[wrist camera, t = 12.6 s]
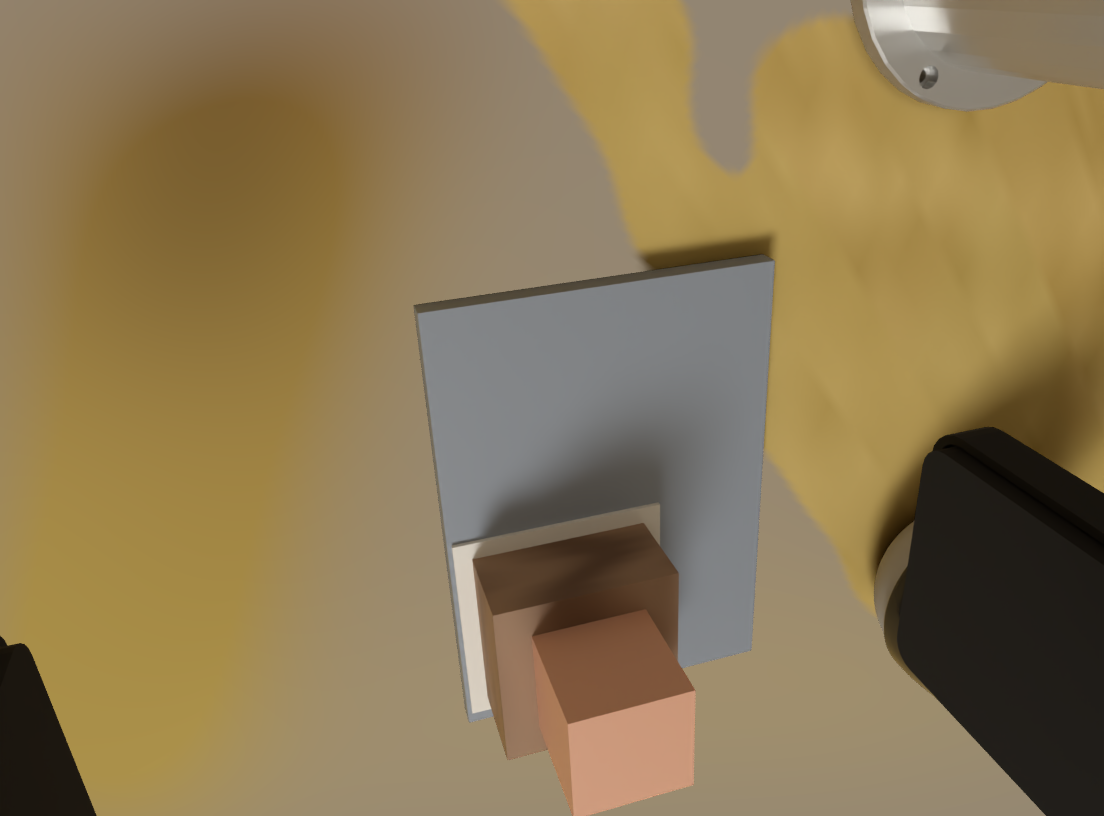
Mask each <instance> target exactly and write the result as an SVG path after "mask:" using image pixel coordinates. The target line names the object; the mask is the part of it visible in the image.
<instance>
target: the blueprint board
mask: <svg viewBox="0 0 1104 816" xmlns="http://www.w3.org/2000/svg"><path fill="white" fill-rule="evenodd" d="M774 264H775V261H774V260H772V259H771V258H769V257H767V256H765V255H764V254H762V255H755V256H748V257H741V258H734V259H727V260H720V261H713V262H707V263H700V264H693V265H686V266H679V267H672V268H665V269H658V270H652V271H645V272H638V273H631V274H624V275H618V276H610V277H603V278H597V279H590V280H583V281H576V282H570V283H562V284H556V285H549V286H542V287H535V288H528V289H521V290H514V291H507V292H501V293H494V294H487V295H480V296H473V297H467V298H459V299H453V300H445V301H439V302H432V303H425V304H418V305H414V313H415V321H416V328H417V336H418V344H419V352H420V360H421V367H422V375H423V383H424V390H425V399H426V407H427V415H428V422H429V430H430V437H431V446H432V454H433V462H434V469H435V476H436V485H437V493H438V501H439V508H440V516H441V523H442V532H443V540H444V548H445V555H446V563H447V571H448V579H449V586H450V594H451V602H452V610H453V617H454V626H455V634H456V641H457V649H458V657H459V665H460V672H461V681H462V689H463V696H464V704H465V710H466V713H467V717H468V720H469V722H473V721H477V720H481V719H485V718H489V717H493V713H492V709H491V706H490V703H489V700H488V696H487V687H486V679H485V670H484V661H483V652H482V643H481V634H480V625H479V616H478V607H477V598H476V589H475V580H474V571H473V562H472V559H477V558H481V557H486V556H491V555H495V554H500V553H505V552H509V551H514V550H519V549H523V548H528V547H533V546H538V545H542V544H547V543H552V542H556V541H561V540H566V539H570V538H575V537H580V536H584V535H589V534H594V533H598V532H603V531H608V530H612V529H617V528H622V527H627V526H631V525H636V524H641V523H644V524H645V525H646V527H647V528H648V530H649V531H650V533H651V534H652V535H653V537H654V538H655V540H656V541H657V543H658V544H659V545H660V547H661V548H662V550H663V551H664V553H665V554H666V555H667V557H668V558H669V560H670V561H671V563H672V564H673V565H674V567H675V568H676V570H677V571H678V573H679V607H678V663H679V664H680V666H681V668H685V667H689V666H692V665H696V664H700V663H704V662H708V661H712V660H715V659H720V658H723V657H728V656H732V655H735V654H739V653H743V652H747V651H751V648H752V631H753V613H754V597H755V581H756V564H757V563H756V562H757V547H758V531H759V530H758V529H759V512H760V498H761V479H762V464H763V448H764V431H765V414H766V398H767V381H768V364H769V347H770V331H771V314H772V297H773V281H774Z"/></svg>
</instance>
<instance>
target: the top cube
mask: <svg viewBox="0 0 1104 816" xmlns="http://www.w3.org/2000/svg"><path fill="white" fill-rule="evenodd" d="M532 647H533V658H534V670H535V682H536V694H537V706H538V718H539V727H540V730H541V732H542V735H543V738H544V740H545V743H546V746H547V749H548V751H549V754H550V756H551V759H552V762H553V765H554V767H555V770H556V772H557V775H558V778H559V781H560V783H561V786H562V788H563V791H564V794H565V797H566V799H567V802H568V805H569V808H570V810H571V813H572V816H588V815H591V814H595V813H599V812H602V811H605V810H609V809H612V808H616V807H619V806H622V805H626V804H629V803H633V802H636V801H639V800H643V799H646V798H650V797H654V796H657V795H660V794H664V793H667V792H670V791H674V790H677V789H681V788H684V787H688V786H691V785H694V736H695V734H694V733H695V689H694V687H693V686H692V684H691V682H690V681H689V679H688V678H687V676H686V674H685V673H684V671H683V669H682V668H681V666H680V664H679V663H678V661H677V659H676V658H675V656H674V654H673V653H672V651H671V650H670V648H669V646H668V645H667V643H666V641H665V640H664V638H663V636H662V635H661V633H660V631H659V630H658V628H657V627H656V625H655V623H654V622H653V620H652V618H651V617H650V615H649V613H648V612H647V610H646V609H644V610H640V611H636V612H632V613H627V614H623V615H619V616H615V617H611V618H607V619H602V620H598V621H594V622H590V623H586V624H582V625H577V626H573V627H569V628H565V629H561V630H557V631H552V632H548V633H544V634H540V635H536V636H532Z"/></svg>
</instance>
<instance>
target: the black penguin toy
mask: <svg viewBox="0 0 1104 816" xmlns="http://www.w3.org/2000/svg"><path fill="white" fill-rule="evenodd" d="M913 526H914V521H913V522H912V523H911V524H909V525H908V526H907V527H906V528H905V529H904V530H903V531H902V532H900V533H899V535H898V536H897V537H896V538H895V539H894V540H893V542H892V543H891V544H890V546H889V547H888V549H887V550H886V552H885V554H884V556H883V558H882V560H881V562H880V565H879V567H878V571H877V574H876V579H875V586H874V602H875V609H876V614H877V617H878V621H879V624H880V626H881V628H882V630H883V633H884V637H885V642H886V645H887V648H888V650H889V652H890V654H891V656H892V657H893V659H894V660H895V661H896V663H897V664H898V665H899V666H900V667H901V668H902V669H903V670H904V671H905V672H906V673H907V674H908V675H909V676H910V677H911V678H912V679H913V680H914V681H915V682H916V683H918V684H919V685H920V686H921V687H923V688H924V689H925V690H926V691H927V692H929V693H930V694H931V695H932V696H934V695H933V694H932V693H931V692H930V691H929V690H928V689H927V688H926V687H925V686H924V684H923V683H922V682H921V681H920V680H919V679H918V678H917V677H916V676H915V675H914V674H913V673H912V672H911V671H910V669H909V668H908V667H907V666H906V664H905V663H904V661H903V659H902V657H901V655H900V652H899V649H898V643H897V632H898V625H899V619H900V612H901V605H902V599H903V592H904V586H905V579H906V572H907V566H908V559H909V553H910V546H911V539H912V533H913ZM934 697H935V696H934ZM935 698H936V697H935ZM936 699H937V698H936ZM937 700H938V699H937Z"/></svg>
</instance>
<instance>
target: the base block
mask: <svg viewBox="0 0 1104 816" xmlns="http://www.w3.org/2000/svg"><path fill="white" fill-rule="evenodd" d="M472 562H473V571H474V580H475V589H476V598H477V607H478V616H479V625H480V634H481V643H482V652H483V661H484V670H485V679H486V687H487V696H488V700H489V703H490V706H491V709H492V713H493V716H494V719H495V722H496V725H497V728H498V732H499V734H500V738H501V741H502V744H503V747H504V751H505V754H506V757H507V760H511V759H515V758H518V757H522V756H526V755H529V754H533V753H537V752H541V751H545V750H548V749H547V746H546V743H545V740H544V738H543V735H542V732H541V730H540V727H539V718H538V706H537V694H536V682H535V670H534V658H533V647H532V636H536V635H540V634H544V633H548V632H552V631H557V630H561V629H565V628H569V627H573V626H577V625H582V624H586V623H590V622H594V621H598V620H602V619H607V618H611V617H615V616H619V615H623V614H627V613H632V612H636V611H640V610H644V609H646V610H647V612H648V613H649V615H650V617H651V618H652V620H653V622H654V623H655V625H656V627H657V628H658V630H659V631H660V633H661V635H662V636H663V638H664V640H665V641H666V643H667V645H668V646H669V648H670V650H671V651H672V653H673V654H674V656H675V658H676V659H677V661H678V607H679V573H678V571H677V570H676V568H675V567H674V565H673V564H672V563H671V561H670V560H669V558H668V557H667V555H666V554H665V553H664V551H663V550H662V548H661V547H660V545H659V544H658V543H657V541H656V540H655V538H654V537H653V535H652V534H651V533H650V531H649V530H648V528H647V527H646V525H645V524H644V523H641V524H636V525H631V526H627V527H622V528H617V529H612V530H608V531H603V532H598V533H594V534H589V535H584V536H580V537H575V538H570V539H566V540H561V541H556V542H552V543H547V544H542V545H538V546H533V547H528V548H523V549H519V550H514V551H509V552H505V553H500V554H495V555H491V556H486V557H481V558H477V559H472Z"/></svg>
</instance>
